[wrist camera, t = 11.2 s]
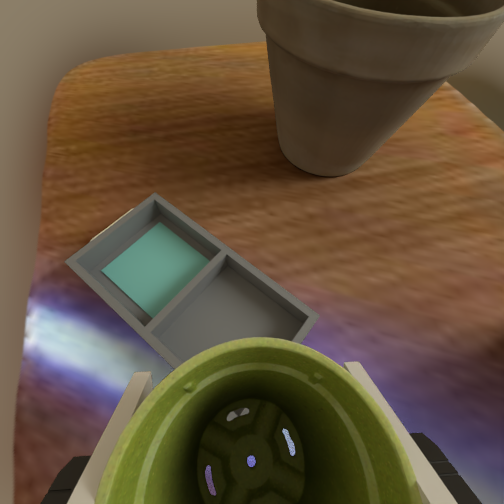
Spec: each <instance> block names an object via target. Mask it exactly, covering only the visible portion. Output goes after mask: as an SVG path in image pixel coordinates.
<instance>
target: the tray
mask: <svg viewBox="0 0 504 504" xmlns="http://www.w3.org/2000/svg"><path fill="white" fill-rule="evenodd" d="M90 241H91V242H89V243H88V244H87V245H85V246H84V247H83V248H81V249H80V250H79V251H78V252H76V253H75V254H74V255H72V256H71V257H70V258H68V259H67V260H66V261H64V262H65V263H66V264H67V265H68V266H69V267H70V268H71V269H72V270H73V271H74V272H75V273H76V274H77V275H78V276H79V277H80V278H81V279H83V280H84V281H85V282H86V283H87V284H88V285H89V286H90V287H91V288H92V289H93V290H94V291H95V292H96V293H97V294H98V295H99V296H100V297H101V298H102V299H103V300H104V301H105V302H106V303H107V304H108V305H109V306H110V307H111V308H112V309H113V310H114V311H115V312H116V313H117V314H118V315H119V316H120V317H121V318H123V319H124V320H125V321H126V322H127V323H128V324H129V325H130V326H131V327H132V328H133V329H134V330H135V331H136V332H137V333H138V334H139V335H140V336H141V337H142V338H143V339H144V340H145V341H146V342H147V343H148V344H149V345H150V346H151V347H152V348H153V349H154V350H155V351H156V352H157V353H158V354H159V355H160V356H162V357H163V358H164V359H165V360H166V361H167V362H168V363H169V364H170V365H171V366H172V367H173V368H174V369H176V368H177V367H178V366H180V365H181V364H182V363H184V362H185V361H187V360H189V359H190V358H192V357H193V356H195V355H197V354H199V353H201V352H202V351H205V350H207V349H209V348H212V347H214V346H216V345H219V344H222V343H225V342H229V341H233V340H238V339H243V338H251V337H269V338H279V339H284V340H288V341H292V342H295V343H299V344H301V343H302V341H303V340H304V338H305V337H306V335H307V334H308V332H309V331H310V329H311V328H312V326H313V325H314V324H315V322H316V321H317V319H318V318H319V316H320V315H319V314H317V313H316V312H314V311H313V310H312V309H310V308H309V307H308V306H306V305H305V304H304V303H302V302H301V301H300V300H298V299H297V298H296V297H294V296H293V295H292V294H290V293H289V292H288V291H286V290H285V289H284V288H282V287H281V286H280V285H278V284H277V283H276V282H274V281H273V280H272V279H270V278H269V277H268V276H266V275H265V274H264V273H262V272H261V271H260V270H258V269H257V268H256V267H254V266H253V265H252V264H250V263H249V262H248V261H246V260H245V259H244V258H242V257H241V256H240V255H238V254H237V253H236V252H234V251H233V250H232V249H230V248H229V247H228V246H226V245H225V244H224V243H222V242H221V241H220V240H218V239H217V238H216V237H214V236H213V235H212V234H210V233H209V232H208V231H206V230H205V229H204V228H202V227H201V226H199V225H198V224H197V223H195V222H194V221H193V220H191V219H190V218H189V217H187V216H186V215H185V214H183V213H182V212H181V211H179V210H178V209H177V208H175V207H174V206H173V205H171V204H170V203H169V202H167V201H166V200H165V199H163V198H162V197H161V196H159V195H158V194H157V193H153V194H152V195H151V196H150V197H148V198H147V199H146V200H144V201H143V202H142V203H140V204H139V205H138V206H136V207H135V208H134V209H133V208H132V209H131V210H130V211H128V212H127V213H126V214H124V215H123V216H122V217H120V218H119V219H118V220H116V221H115V222H114V223H113V224H111V225H110V226H109V227H107V228H106V229H105V230H103V231H102V232H101V233H99V234H98V235H97V236H95V237H94V238H93V239H91V240H90ZM248 412H249V409H247V408H240V409H238V410H236V411H232V412H230V414H229V415H228V416H227V421H231V420H233V419H234V418H236V417H238V416H240V415H244V414H248Z"/></svg>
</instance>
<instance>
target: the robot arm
mask: <svg viewBox="0 0 504 504" xmlns="http://www.w3.org/2000/svg"><path fill="white" fill-rule="evenodd" d="M343 368H344V369H345V370H347V371H348V372H349V373H350V374H351V375H352V376H353V377H354V378H355V379H356V380H358V381H359V383H360V384H361V385H362V386H363V387H364V388H365V389H366V390H367V391H368V392H369V394H370V395H371V396H372V397H373V399H374V400H375V401H376V402H377V404H378V405H379V406H380V408H381V409H382V410H383V412H384V413H385V415H386V416H387V418H388V420H389V421H390V423H391V424H392V426H393V428H394V430H395V432H396V434H397V436H398V438H399V440H400V441H401V443H402V445H403V447H404V449H405V451H406V453H407V455H408V457H409V460H410V462H411V465H412V467H413V470H414V473H415V476H416V478H417V480H416V482H417V485H418V489H419V492H420V496H421V499H422V503H423V504H482V503H481V502H480V501H479V499H478V498H477V497H476V495H475V494H474V493H473V492H472V490H471V489H470V488H469V486H468V485H467V484H466V483H465V481H464V480H463V479H462V477H461V476H459V475H458V472H457V471H456V470H455V468H454V467H453V466H452V464H451V463H449V462H448V459H447V458H446V457H445V455H444V454H443V453H442V451H441V450H440V449H439V447H438V446H437V445H436V444H435V443H434V442H432V441H431V440H430V439H429V438H428V437H426V436H425V435H424V434H423V433H411V434H409V433H408V432H407V430H406V429H405V427H404V426H403V424H402V423H401V422H400V420H399V419H398V417H397V416H396V414H395V413H394V411H393V410H392V409H391V407H390V406H389V404H388V403H387V401H386V400H385V399H384V397H383V396H382V394H381V393H380V391H379V390H378V388H377V387H376V386H375V384H374V383H373V381H372V380H371V378H370V377H369V376H368V374H367V373H366V371H365V370H364V368H363V367H362V365H361V364H360V363H359V362H344V367H343ZM152 390H153V384H152V376H151V371H148V372H134V374H133V376H132V378H131V380H130V382H129V384H128V386H127V388H126V390H125V392H124V394H123V396H122V398H121V400H120V401H119V403H118V405H117V407H116V409H115V411H114V413H113V415H112V417H111V419H110V421H109V423H108V425H107V427H106V429H105V431H104V433H103V435H102V436H101V438H100V440H99V442H98V444H97V446H96V448H95V450H94V452H93V454H92V456H79V457H73V459H72V460H71V461H70V462H69V463H68V464H67V465H66V466H65V467H64V468H63V469H62V470H61V471H60V472H59V473H58V475H57V477H56V478H55V480H54V482H53V483H52V485H51V487H50V489H49V490H48V494H46V495H45V497H44V499H43V500H42V502H41V504H94V503H95V497H96V493H97V490H98V486H99V483H100V480H101V477H102V474H103V472H104V469H105V467H106V464H107V462H108V459H109V457H110V455H111V453H112V451H113V449H114V446H115V444H116V442H117V440H118V438H119V436H120V434H121V433H122V431H123V430H124V428H125V427H126V425H127V423H128V422H129V420H130V419H131V417H132V416H133V414H134V413H135V411H136V410H137V408H138V407H139V406H140V405H141V403H142V402H143V401H144V399H145V398H146V397H147V396H148V395H149V393H150V392H151V391H152Z"/></svg>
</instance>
